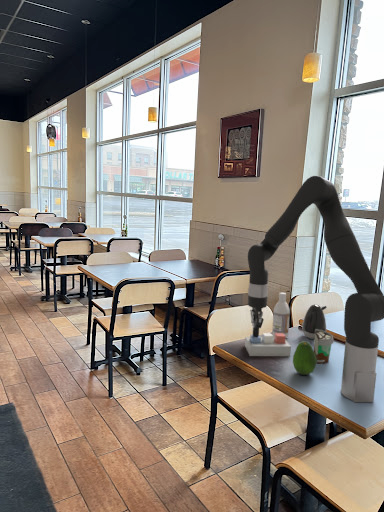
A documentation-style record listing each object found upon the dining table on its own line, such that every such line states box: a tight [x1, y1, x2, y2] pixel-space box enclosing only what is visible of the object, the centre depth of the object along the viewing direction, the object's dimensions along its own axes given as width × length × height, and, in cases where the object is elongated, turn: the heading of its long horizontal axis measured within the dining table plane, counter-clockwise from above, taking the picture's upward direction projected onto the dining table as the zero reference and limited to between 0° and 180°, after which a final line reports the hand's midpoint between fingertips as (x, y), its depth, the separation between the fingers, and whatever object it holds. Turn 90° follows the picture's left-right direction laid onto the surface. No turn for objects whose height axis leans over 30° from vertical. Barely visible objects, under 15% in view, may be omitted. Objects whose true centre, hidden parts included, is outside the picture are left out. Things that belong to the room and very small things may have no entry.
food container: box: [313, 329, 334, 365], centre depth 142 cm, size 12×6×10 cm, turn 168°
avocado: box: [292, 340, 317, 376], centre depth 129 cm, size 8×8×12 cm
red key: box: [274, 333, 287, 344], centre depth 149 cm, size 3×3×4 cm
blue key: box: [249, 334, 261, 343], centre depth 148 cm, size 3×3×4 cm
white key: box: [261, 332, 273, 344], centre depth 149 cm, size 3×3×4 cm
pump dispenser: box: [301, 304, 327, 340], centre depth 164 cm, size 10×10×15 cm
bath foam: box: [271, 292, 291, 340], centre depth 164 cm, size 7×7×20 cm
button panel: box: [244, 336, 292, 357], centre depth 149 cm, size 10×16×4 cm, turn 93°
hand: (255, 336), depth 148 cm, fingers closed
